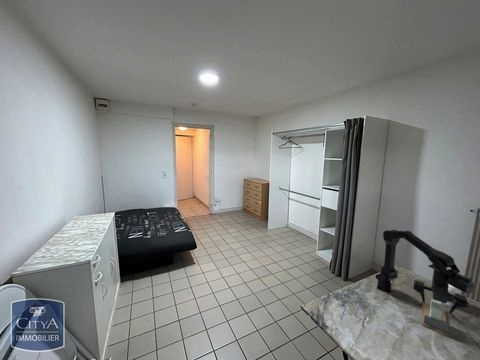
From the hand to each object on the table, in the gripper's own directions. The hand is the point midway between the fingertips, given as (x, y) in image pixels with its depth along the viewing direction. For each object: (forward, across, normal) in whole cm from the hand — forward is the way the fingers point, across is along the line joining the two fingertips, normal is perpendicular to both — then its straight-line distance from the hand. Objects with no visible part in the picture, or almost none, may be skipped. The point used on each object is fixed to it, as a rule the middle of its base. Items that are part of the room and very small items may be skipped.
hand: (436, 308), depth 97 cm
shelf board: (+8, 0, +4) cm, 9 cm away
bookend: (+7, 0, -5) cm, 9 cm away
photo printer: (+9, +7, +26) cm, 29 cm away
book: (+7, 0, 0) cm, 7 cm away
